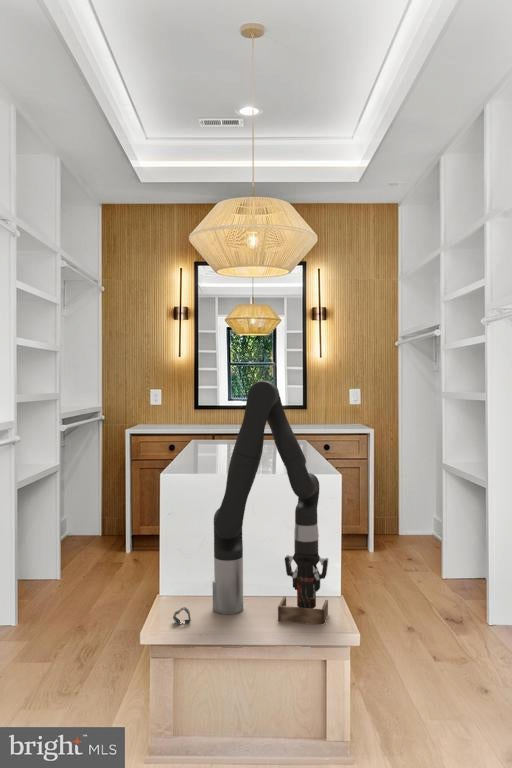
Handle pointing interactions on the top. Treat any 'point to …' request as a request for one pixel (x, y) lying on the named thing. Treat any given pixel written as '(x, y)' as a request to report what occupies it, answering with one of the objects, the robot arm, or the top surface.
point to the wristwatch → (178, 613)
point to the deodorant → (306, 584)
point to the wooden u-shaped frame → (302, 613)
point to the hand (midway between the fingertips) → (306, 589)
